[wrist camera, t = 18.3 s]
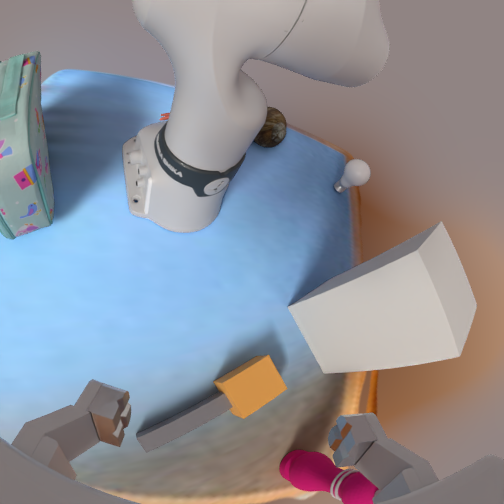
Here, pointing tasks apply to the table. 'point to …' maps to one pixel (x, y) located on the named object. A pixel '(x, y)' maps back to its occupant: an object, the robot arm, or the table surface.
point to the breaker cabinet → (391, 308)
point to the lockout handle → (221, 401)
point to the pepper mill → (326, 477)
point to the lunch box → (23, 149)
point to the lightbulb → (353, 175)
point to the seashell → (272, 129)
